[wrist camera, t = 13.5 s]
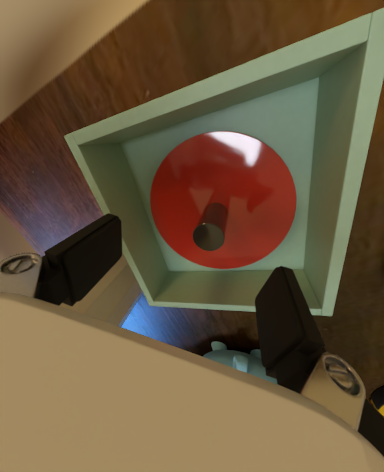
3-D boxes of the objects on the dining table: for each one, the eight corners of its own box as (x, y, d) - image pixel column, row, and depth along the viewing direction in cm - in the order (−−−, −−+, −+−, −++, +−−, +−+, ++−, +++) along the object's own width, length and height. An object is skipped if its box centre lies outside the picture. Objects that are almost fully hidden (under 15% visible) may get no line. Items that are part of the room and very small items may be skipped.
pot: (66, 263, 29) (-9, 317, 20) (90, 219, 23) (-4, 272, 14) (123, 306, 32) (79, 371, 23) (161, 277, 25) (118, 353, 16)
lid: (132, 206, 19) (98, 228, 15) (220, 85, 12) (208, 54, 8) (215, 279, 22) (208, 318, 17) (326, 214, 15) (366, 251, 10)
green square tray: (167, 273, 24) (149, 306, 20) (113, 135, 16) (63, 135, 12) (309, 271, 19) (332, 316, 14) (331, 59, 11) (401, 0, 6)
